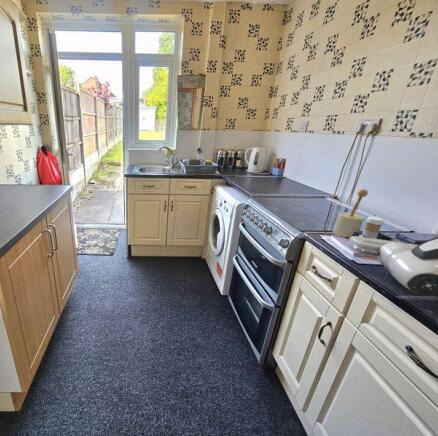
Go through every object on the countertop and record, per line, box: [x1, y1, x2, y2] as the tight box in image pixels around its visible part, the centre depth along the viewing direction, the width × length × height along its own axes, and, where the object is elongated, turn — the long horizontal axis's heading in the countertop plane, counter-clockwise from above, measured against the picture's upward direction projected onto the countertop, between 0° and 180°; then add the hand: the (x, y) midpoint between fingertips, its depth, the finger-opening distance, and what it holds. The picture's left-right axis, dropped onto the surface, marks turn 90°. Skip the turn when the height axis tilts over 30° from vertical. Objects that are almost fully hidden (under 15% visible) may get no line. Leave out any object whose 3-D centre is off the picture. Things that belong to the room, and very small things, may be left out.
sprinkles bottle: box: [361, 216, 385, 239], centre depth 94 cm, size 5×5×13 cm
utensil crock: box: [332, 188, 369, 239], centre depth 106 cm, size 9×9×22 cm
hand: (376, 238), depth 90 cm, fingers open, 8 cm apart
